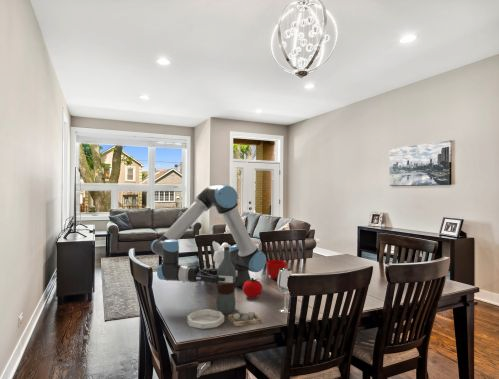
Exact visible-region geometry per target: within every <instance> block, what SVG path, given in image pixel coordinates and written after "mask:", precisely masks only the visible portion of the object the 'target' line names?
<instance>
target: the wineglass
mask: <svg viewBox="0 0 499 379" xmlns="http://www.w3.org/2000/svg"><path fill="white" fill-rule="evenodd" d="M291 274H292V275H293V271H292V269H291V268H289V267H288V268H281V269H280V270H279V274H278V279H276V280H277V281H276V287H277V289H278V291H279V292H280V293H281V294H283V298H284V299H283V308H280V309H279V312H281V313H289V312H288V309H289V308H287V306H286V304H287V303H286V302H287V300H286V298H287V294H289V293H290V292H289V291H288V287H287V276H288V275H291Z"/></svg>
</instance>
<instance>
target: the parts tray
mask: <svg viewBox="0 0 499 379" xmlns="http://www.w3.org/2000/svg"><path fill="white" fill-rule="evenodd" d="M251 312H252V313H253V314H254V316H253V318H252V319H249V318H248V320H246V321H242V319H241V318H242V316H243V315H247V313H248V312H243V313H238V314H239V315H240V319H239V320H237V321H236V320H234V318H233V316H234V314H235V313H233V314H228V317H227V318H228V321H230V323H231V324H232V325H233V326H234V327H241V326H249V325H255V324H262V318H260V316H259V315H258V314H257V313H255V312H254V311H251Z"/></svg>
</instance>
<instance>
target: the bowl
mask: <svg viewBox="0 0 499 379" xmlns="http://www.w3.org/2000/svg"><path fill="white" fill-rule="evenodd" d="M186 322H187V325H188V327H189V328H192V327H193V328H197V329H202V330H204V329H211V328H218V327H219V326H221V325H222V324H223V323H224V322H225V315H224V313H222V312H220V311H217V310H216V309H215V310H214V309H207V308H206V309H198V310H194V311H193V312H191V313H189V314H187V316H186Z"/></svg>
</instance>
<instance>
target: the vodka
mask: <svg viewBox="0 0 499 379" xmlns="http://www.w3.org/2000/svg"><path fill="white" fill-rule="evenodd" d="M229 249H230V246H229V247H224V259H223V261H222V262H221V264H220V265H219V267H218V270H217V275H216V276H218V277H219V276H233V283H229V282H218V284H217V287H216V288H217V293H216V301H215V304H216V311H220V312H221V313H222V314H224V313H225V314H226V313H227V314H228V313H232V312H234V311H235V310H236V295H235V289H236V287H235V280H236V271H235V267H234V266H233V264H232V262H231V261H230V259H229Z"/></svg>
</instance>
